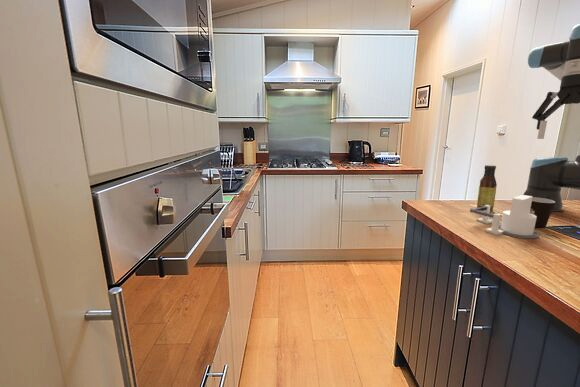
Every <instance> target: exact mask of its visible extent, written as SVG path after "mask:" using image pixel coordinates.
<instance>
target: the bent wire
mask: <svg viewBox="0 0 580 387" xmlns="http://www.w3.org/2000/svg"><path fill="white" fill-rule="evenodd" d="M482 210H487V207H479V208H477V207H474V208H470V209H469V212H470V213H472V214H473V213H474V214H477V215H481V216H482V215H484V216H487V217H489V218H492V219H493V216H494V214H495V213H486V212H483V211H482Z"/></svg>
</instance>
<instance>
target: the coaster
mask: <svg viewBox="0 0 580 387" xmlns="http://www.w3.org/2000/svg"><path fill="white" fill-rule="evenodd" d="M500 227H501V224H499V230H502V229H501V228H500ZM502 231H503V230H502ZM501 235H505V236H509V237H513V238H518V239H519V238H520V239H527V240H530V239H531V240H532V239H533V240H535V239H538V238H539V237H540V234H539V233H538V232H537V231H535V230H534V232H533V235H518V234H512V233H509V232H506V231H504V232H503V233H502V234H501Z"/></svg>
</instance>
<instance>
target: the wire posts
mask: <svg viewBox="0 0 580 387" xmlns="http://www.w3.org/2000/svg"><path fill="white" fill-rule="evenodd" d="M484 207H487V210H483V211H482V212H486V213H490V212H491V211H490V207H491V206H490V205H484ZM490 214H491V213H490ZM493 214H494V216H493V218H492V219H490V217H487V216H484V215H481V217H479V218H476V222H479V223H483V224H491V227H488V228H485V229H484V232H486V233H489V234H492V235H496V236H498V235H499V236H500V235H503V234H502V233H503V232H504V231H502V230H499V225H501V219H502V218H501V217H502V214H499V213H493Z"/></svg>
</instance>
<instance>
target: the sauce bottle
mask: <svg viewBox="0 0 580 387" xmlns="http://www.w3.org/2000/svg"><path fill="white" fill-rule="evenodd" d="M496 169H497V166H496V165H491V164H490V165H489V164H488V165H487V164H486V165H484V171H483V172H484V173H483V176H482V178H481V179H480V181H479V187H478V195H477V202H476V208H479V207H484V205H490V206H491V207H490V212H492V211H493V210H494V207H495V200H496V194H497V185H498V184H497V180H496V177H495V175H496V174H495V173H496ZM482 212H483V210H482Z"/></svg>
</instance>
